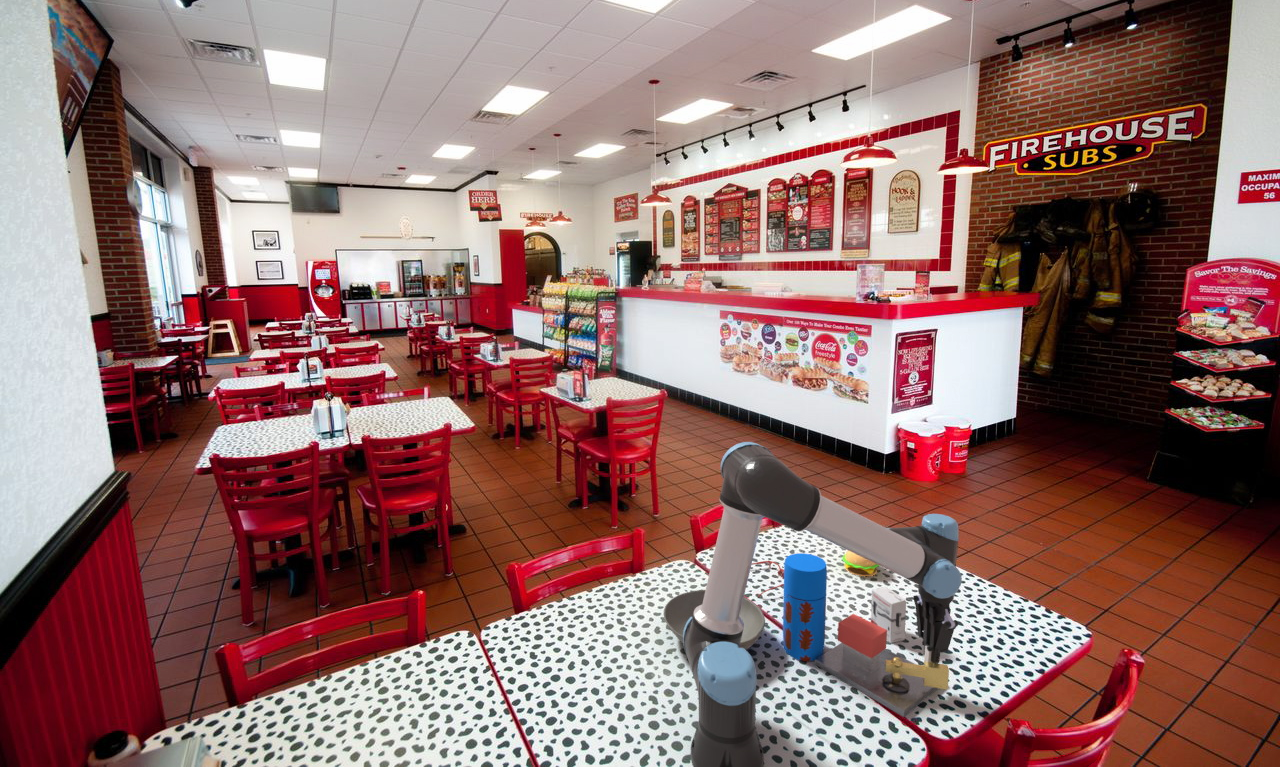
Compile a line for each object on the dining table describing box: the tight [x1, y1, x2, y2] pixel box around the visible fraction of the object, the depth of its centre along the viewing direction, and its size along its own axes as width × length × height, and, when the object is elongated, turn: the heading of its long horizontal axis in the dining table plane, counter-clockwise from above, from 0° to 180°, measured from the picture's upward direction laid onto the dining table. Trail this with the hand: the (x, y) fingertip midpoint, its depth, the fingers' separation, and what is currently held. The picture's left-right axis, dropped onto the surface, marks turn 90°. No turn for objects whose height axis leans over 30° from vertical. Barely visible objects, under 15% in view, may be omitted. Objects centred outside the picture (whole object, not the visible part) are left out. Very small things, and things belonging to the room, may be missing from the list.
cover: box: [837, 613, 888, 658], centre depth 149 cm, size 6×10×5 cm
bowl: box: [663, 589, 766, 651], centre depth 162 cm, size 27×28×8 cm
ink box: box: [870, 586, 907, 644], centre depth 164 cm, size 8×5×12 cm, turn 17°
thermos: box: [782, 552, 828, 662], centre depth 156 cm, size 11×11×25 cm
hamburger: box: [842, 550, 881, 578], centre depth 199 cm, size 12×12×9 cm
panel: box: [814, 642, 939, 718], centre depth 147 cm, size 18×24×6 cm
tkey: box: [885, 657, 950, 691], centre depth 140 cm, size 14×2×6 cm, turn 73°
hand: (930, 671), depth 141 cm, fingers closed
